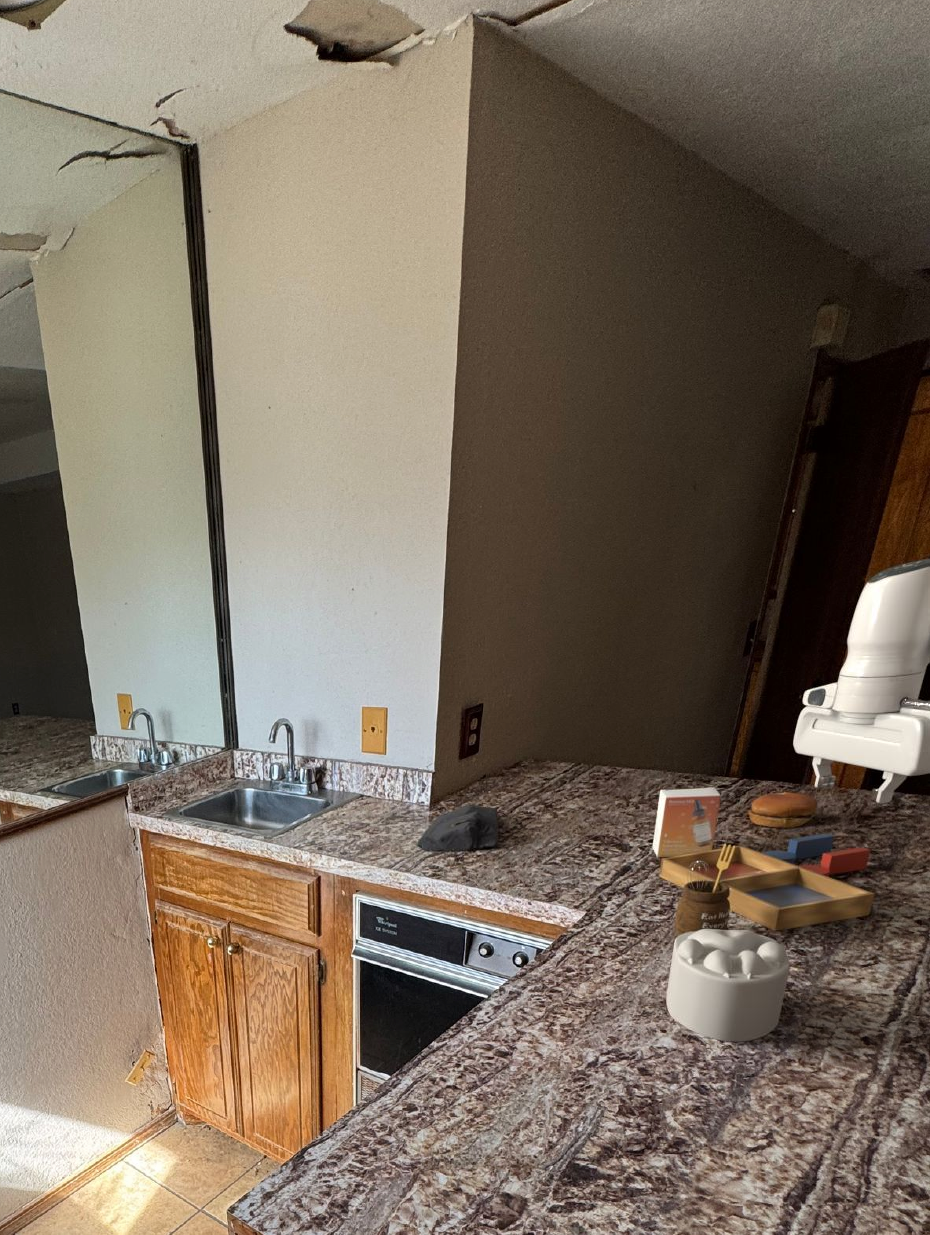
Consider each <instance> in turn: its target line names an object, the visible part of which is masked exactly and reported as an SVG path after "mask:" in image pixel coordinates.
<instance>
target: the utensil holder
mask: <svg viewBox="0 0 930 1235" xmlns="http://www.w3.org/2000/svg"><path fill="white" fill-rule="evenodd" d="M736 846H737V845H733V846H732V844H728V845H727V843H724V844H723V846H722V848H723V849H722V848H721V849H722V852H721V854H720V857H719V860H718V863H717V867H718V868H719V869H720V871H719V874H718V877H717V880H716V881H707V870H706V880H701V881H700V868H699V881H693V882H689V881H688V883H687V884H685V886H684V888H682V891H681V894H682V896H681V897H680V898H679V900H678V903H677V907H676V912H675V919H674V934H675V935H676V936H677V937H678V936H680V935H682V934H684V933H688V932H697V931H699V930H702V929H718V930H728V923H729V918H730V911H731V910H730V902H729V900H728V899H727V898H728V897H729V895H730V890H729V887H728V886H727V885H726V884H724V883H721V882H719V881H720V879H721V876H722V873H723V871H724V870H726V869H728V868H729V867H730V864H731V861H732V857H733V854H734V851H735V848H736ZM731 847H733V848H732V851H731V854H730V857H729V859H728V862H727V858H728V855H729V852H730V848H731ZM726 848H728V849H727V851H726V854H725V857H724V860H723V861H722V858H723V855H724V852H725V849H726ZM695 862H698V863H699V862H700V863H701V862H702V861H694V863H695ZM692 864H693V862H692V863H691V865H692ZM702 864H703V863H702ZM691 865H690V866H689V867H691ZM703 865H704V867H705V862H704V864H703ZM694 866H695V865H694ZM705 868H706V867H705ZM688 869H689V868H688ZM692 870H693V869H692ZM708 870H709V867H708ZM704 877H705V874H704ZM708 879H709V876H708ZM690 880H691V881H692V877H691V878H690Z"/></svg>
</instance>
